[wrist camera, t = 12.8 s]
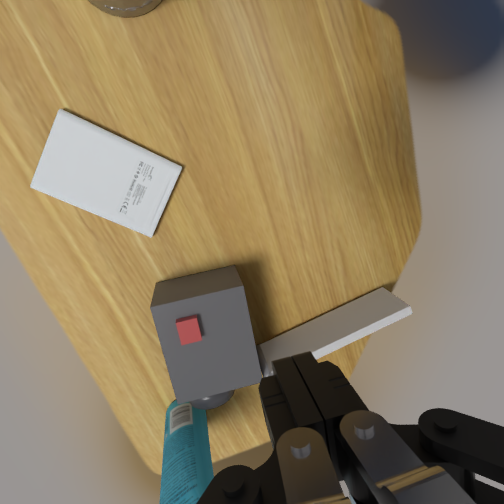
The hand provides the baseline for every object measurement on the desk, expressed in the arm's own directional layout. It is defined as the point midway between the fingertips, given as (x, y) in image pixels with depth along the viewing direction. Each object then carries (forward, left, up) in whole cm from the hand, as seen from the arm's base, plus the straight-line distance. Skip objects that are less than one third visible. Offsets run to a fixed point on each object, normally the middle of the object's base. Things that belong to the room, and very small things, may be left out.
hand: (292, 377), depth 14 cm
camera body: (+11, -4, -29) cm, 31 cm away
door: (+14, +9, -28) cm, 33 cm away
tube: (+22, -9, -29) cm, 38 cm away
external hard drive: (-8, -10, -30) cm, 32 cm away
